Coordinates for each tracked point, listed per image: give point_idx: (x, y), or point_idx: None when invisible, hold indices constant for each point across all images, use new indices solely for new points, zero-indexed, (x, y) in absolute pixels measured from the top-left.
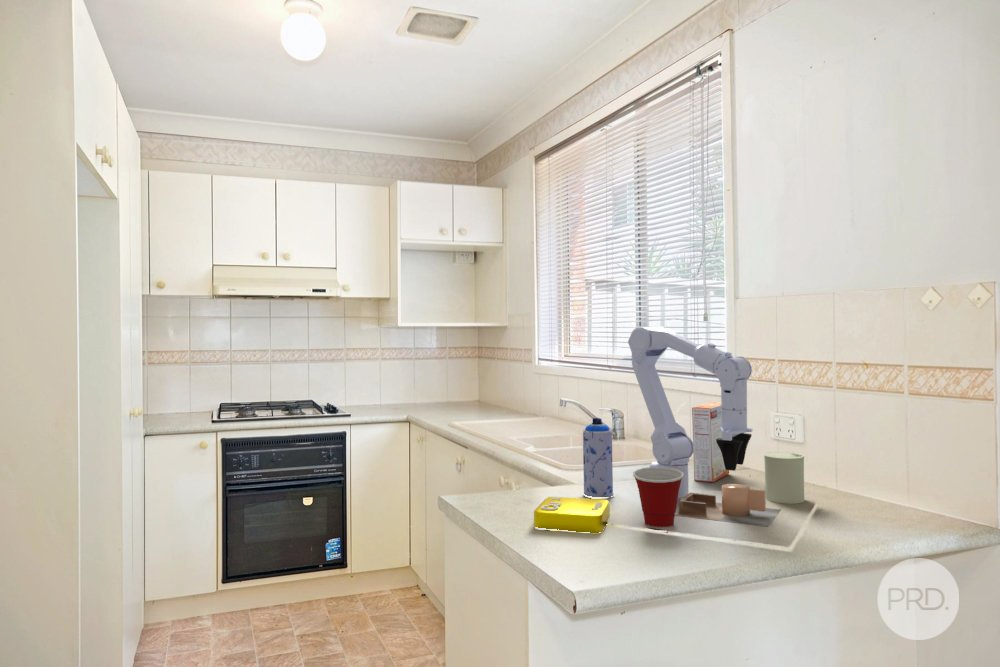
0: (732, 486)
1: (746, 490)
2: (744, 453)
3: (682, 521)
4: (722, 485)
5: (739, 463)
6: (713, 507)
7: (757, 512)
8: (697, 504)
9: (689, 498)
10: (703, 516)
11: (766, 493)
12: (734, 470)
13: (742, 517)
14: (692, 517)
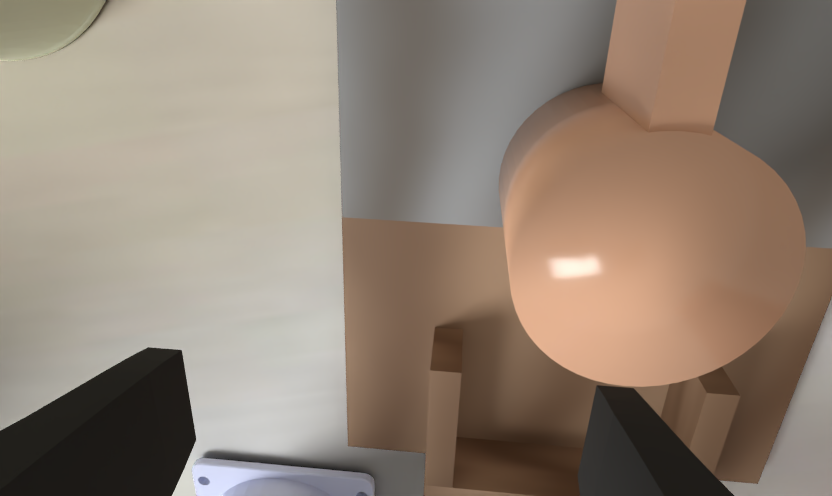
0: (649, 301)
1: (746, 151)
2: (67, 439)
3: (796, 428)
4: (627, 383)
5: (181, 388)
6: (489, 333)
7: (521, 37)
8: (723, 431)
9: (545, 487)
10: (751, 352)
11: (20, 42)
12: (635, 390)
13: (719, 120)
14: (790, 400)
